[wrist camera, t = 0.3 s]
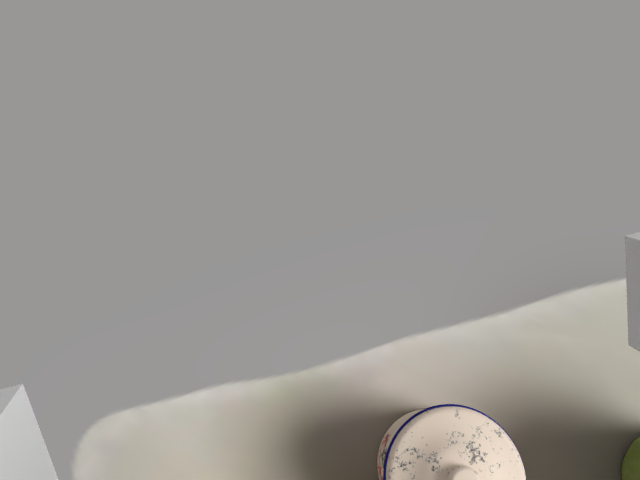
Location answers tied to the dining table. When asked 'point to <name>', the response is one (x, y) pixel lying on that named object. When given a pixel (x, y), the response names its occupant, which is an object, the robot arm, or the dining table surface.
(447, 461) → the teacup with lid
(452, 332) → the dining table surface
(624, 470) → the plant pot
